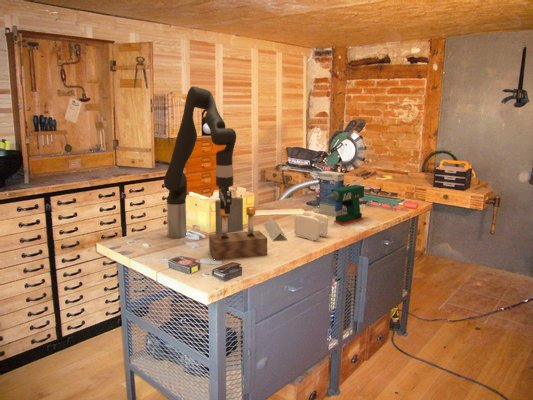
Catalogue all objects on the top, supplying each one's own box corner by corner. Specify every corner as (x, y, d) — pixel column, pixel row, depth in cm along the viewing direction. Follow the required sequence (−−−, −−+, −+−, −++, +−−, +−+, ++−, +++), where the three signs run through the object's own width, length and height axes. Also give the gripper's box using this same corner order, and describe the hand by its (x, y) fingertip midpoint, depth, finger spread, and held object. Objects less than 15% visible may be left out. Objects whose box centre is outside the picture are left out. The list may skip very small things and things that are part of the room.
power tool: (327, 229, 238) (329, 193, 233) (318, 226, 243) (319, 191, 238) (363, 219, 258) (365, 186, 254) (353, 217, 263) (355, 184, 259)
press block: (214, 260, 191) (214, 243, 189) (209, 251, 202) (209, 234, 200) (267, 255, 198) (267, 238, 196) (259, 246, 209) (259, 230, 207)
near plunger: (221, 243, 194) (221, 210, 191) (219, 240, 198) (219, 208, 194) (230, 242, 195) (230, 210, 192) (228, 240, 199) (228, 208, 196)
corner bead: (289, 241, 219) (289, 232, 218) (271, 242, 218) (271, 232, 217) (278, 225, 247) (278, 216, 246) (262, 225, 246) (262, 217, 245)
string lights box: (342, 214, 269) (345, 173, 263) (335, 217, 263) (338, 174, 257) (324, 210, 277) (326, 170, 271) (317, 213, 272) (319, 171, 266)
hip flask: (217, 234, 226) (217, 196, 222) (213, 232, 230) (213, 195, 225) (243, 229, 235) (243, 193, 231) (240, 228, 239) (239, 192, 234)
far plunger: (247, 241, 198) (247, 209, 194) (245, 238, 202) (245, 206, 198) (256, 240, 199) (256, 208, 196) (253, 237, 203) (253, 206, 199)
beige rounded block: (292, 235, 227) (293, 214, 224) (304, 231, 234) (305, 210, 232) (316, 242, 217) (317, 219, 214) (328, 237, 225) (329, 215, 222)
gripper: (212, 172, 195) (213, 208, 199) (219, 178, 182) (220, 216, 186) (229, 172, 198) (229, 206, 201) (237, 177, 185) (237, 214, 188)
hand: (225, 211), depth 194 cm, fingers open, 8 cm apart
